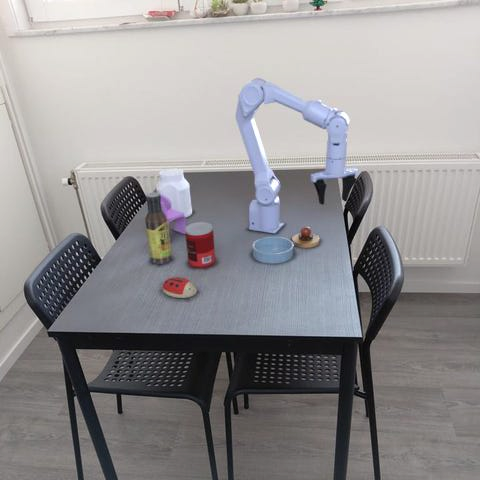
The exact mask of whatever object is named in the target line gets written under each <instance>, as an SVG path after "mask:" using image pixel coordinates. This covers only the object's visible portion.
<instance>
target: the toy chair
mask: <svg viewBox="0 0 480 480" xmlns="http://www.w3.org/2000/svg"><path fill="white" fill-rule="evenodd" d="M160 195H161V200H160V201H161V207H162V211H163V212H164V214H165V215H166V217H167V220H168V225H169V224H170V223H171V222H173V221H174V220H175V224H174V227H173V231H175V232H178V233H180V234H183V235H185V228H186V227H187V225H186V218H185V216H184V213H182V212H179V211H176V210H174V209H171V201H170V200H169V199H168V198H167V197H166V196H164V195H163V194H160Z"/></svg>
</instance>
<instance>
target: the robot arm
mask: <svg viewBox="0 0 480 480" xmlns="http://www.w3.org/2000/svg"><path fill="white" fill-rule="evenodd" d="M273 103H277V104H280V105H282V106H284V107H286V108H289V109H291V110H293V111H296V112H298V113H300V114H301V115H302V118H303V120H304V121H306V122H307V123H309V124H312V125H314V126H316V127H318V128H320V129H322V130H326V132H327V140H326V151H325V152H326V154H325V169H324V170H323V171H319V172H315V173H310V182H312V183H313V185H314V188H315V190H316V193H317V198H318V203H319V204H320V205H325V194H326V189H327V184H326V182H325V181H328V180H336V179H341V182H342V188H341V189H342V191H341V200H342V201H343V202H347V201H348V199H349V196H350V193H351V191H352V189H353V187H354V186H355V184H356V182H357V178H356V177H359V171H360V170H359V169H357V168H346V163H347V162H346V161H347V151H348V149H347V147H348V130H349V125H350V118H349V116H348V114H347V113H346V112H344V111H343V110H338V109H337V108H336V107H333V108H332V107H330V106H328V105H325V104H323V103H322V100H321V99H319V98H318V99H311V100H305V99H302V98H301V97H299V96H298V95H296V94H293V92H290V91H288V90H287V89H285V88H283V87H281V86H279V85H277V84H276V83H274V82H272V81H266V80H265V79H264V78H260V77H256V78H253V79H252V80H251V81H250V82H248V83H246V84H245V85H244V86H243V87H242V88H241V90H240V92H239V94H238V95H237V105H236V111H235V120H236V125H237V127H238V129H239V132H240V136H241V139H242V141H243V145H244V148H245V150H246V151H245V152H246V154H247V156H248V159H249V160H248V161H249V163H250V166H251V169H252V172H253V176H254V184H253V185H254V187H255V194H254V195H255V199H252V200H251V202H250V203H249V209H248V210H249V211H248V218H249V219H248V220H249V221H248V222H249V227H248V230H250V231H254V232H255V231H257V232H264V233H269V234H276V233H277V232H279V230H281V228H283V226H284V225H285V223H284V222H280V211H281V209H280V203H281V201H280V198H279V195H278V194H279V193H280V191H281V186H282V185H281V182H280V180H279V179H278V178H277V177H276V175H275V173H274V171H273V170H272V169H271V167H270V165H269V161H268V157H267V155H266V152H265V148H264V145H263V142H262V138H261V135H260V133H259V129H258V126H257V124H256V119H255V116H256V114H257V111H258V109H260V108H259V107H260V106H261V105H262V104H264V105H268V104H273Z"/></svg>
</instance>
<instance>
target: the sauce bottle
mask: <svg viewBox="0 0 480 480" xmlns="http://www.w3.org/2000/svg"><path fill="white" fill-rule="evenodd" d="M145 200H146V203H147V211H148V212H147V214H146V216H145V229H146V235H147V237H146V238H147V244H148V250H149V257H150V261H151V262H152V263H153V264H157V265H164V264H167V263H169V262H171V261H172V245H171V237H170V229H169V224H168V220H167V217H166V215H165V214H164V212H163V211H162V207H161V201H160V200H161V195H160V193H157V192H155V191H153V192H148V193H147V194H145Z"/></svg>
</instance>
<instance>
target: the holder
mask: <svg viewBox="0 0 480 480" xmlns="http://www.w3.org/2000/svg"><path fill="white" fill-rule="evenodd" d="M291 241H292V242H293V244H294V246H295V247H297V248H302V249H306V248H307V249H308V248H309V249H310V248H314V247H316V246H318V245H319V244H320V236H319V235H317V234H315V233H312V232H311V235H310V236H309V237H303V236H302V235H301V232H300V233H296V234H294V235H293V236H292V237H291Z"/></svg>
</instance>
